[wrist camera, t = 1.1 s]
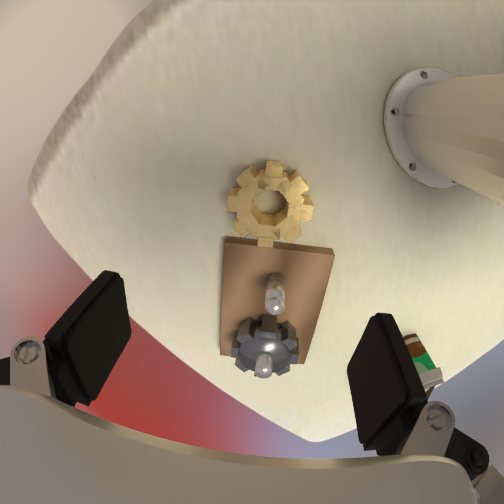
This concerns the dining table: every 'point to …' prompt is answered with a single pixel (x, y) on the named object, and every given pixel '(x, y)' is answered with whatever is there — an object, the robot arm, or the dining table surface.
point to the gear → (265, 346)
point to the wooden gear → (270, 224)
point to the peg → (275, 293)
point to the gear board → (255, 280)
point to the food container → (423, 364)
